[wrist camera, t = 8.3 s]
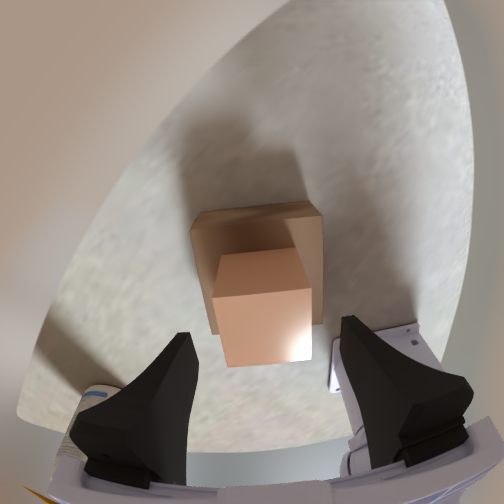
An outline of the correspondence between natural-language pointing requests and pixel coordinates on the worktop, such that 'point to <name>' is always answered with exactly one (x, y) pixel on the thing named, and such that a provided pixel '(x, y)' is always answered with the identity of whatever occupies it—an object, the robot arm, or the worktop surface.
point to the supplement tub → (88, 400)
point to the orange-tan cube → (263, 308)
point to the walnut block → (259, 243)
